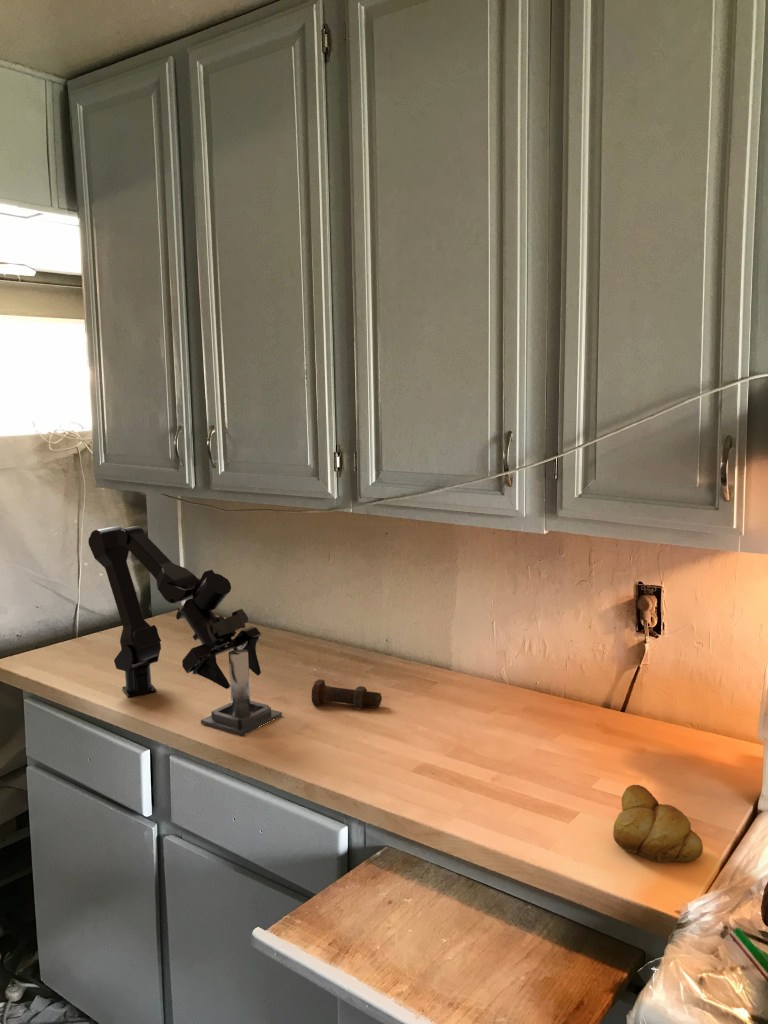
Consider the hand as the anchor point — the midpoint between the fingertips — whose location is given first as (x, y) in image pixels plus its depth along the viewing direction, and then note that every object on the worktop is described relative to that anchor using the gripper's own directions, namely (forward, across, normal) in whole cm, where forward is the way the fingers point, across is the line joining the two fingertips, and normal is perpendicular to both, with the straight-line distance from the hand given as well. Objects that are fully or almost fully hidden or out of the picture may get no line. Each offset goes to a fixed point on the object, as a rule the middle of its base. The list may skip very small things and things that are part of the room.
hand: (244, 680), depth 175 cm
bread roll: (+68, -4, -55) cm, 88 cm away
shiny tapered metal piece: (+5, 0, +7) cm, 8 cm away
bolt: (+16, +18, -3) cm, 24 cm away
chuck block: (+5, 0, +7) cm, 9 cm away
